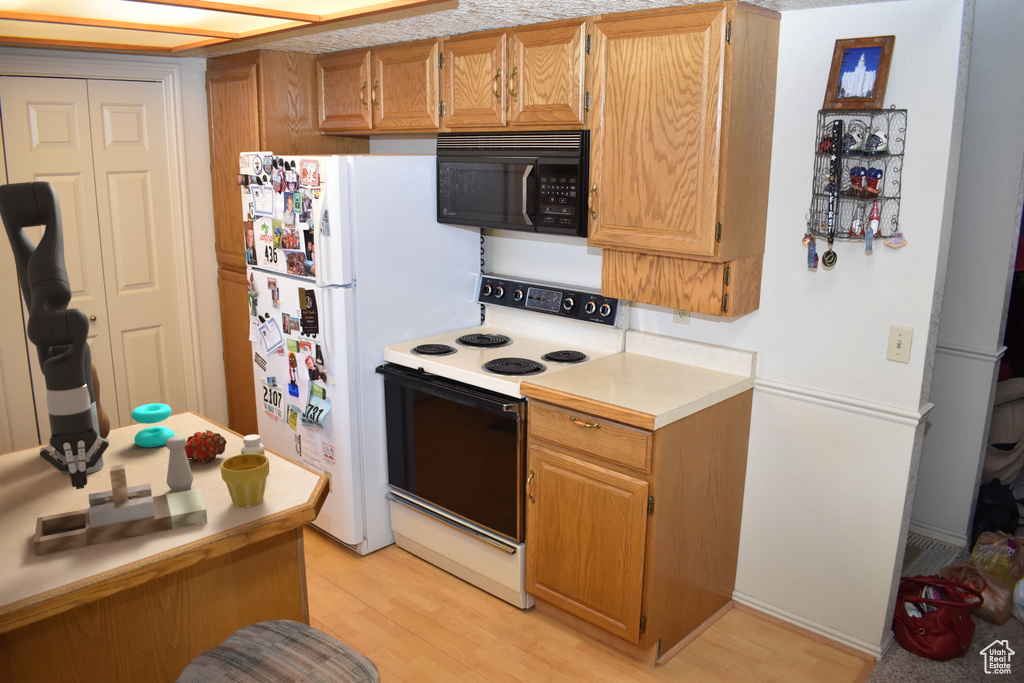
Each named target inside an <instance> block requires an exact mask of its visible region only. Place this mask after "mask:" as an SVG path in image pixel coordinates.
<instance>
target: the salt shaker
mask: <svg viewBox="0 0 1024 683" xmlns="http://www.w3.org/2000/svg"><path fill="white" fill-rule="evenodd" d="M186 442H187V439H186V438H185V437H184V436H181V435H176V436H175V435H174V437H171V438H169V439H168V440H167V441H166V444H165V445H166V448H167V449H168V450H169V454H168V455H169V458H168V466H167V476H166V484H167V486H168V487H169V489H170V490H171V492H172V493H173V492H174V493H177V492H182V491H188V490H191V487H192V484H193V482H194V475H193V472H192V468H191V465H190V461H189V460H188V459H189V458H188V459H187V455H186V452H185V449H184V447H185V446H186Z"/></svg>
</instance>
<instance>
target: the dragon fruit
mask: <svg viewBox="0 0 1024 683" xmlns="http://www.w3.org/2000/svg"><path fill="white" fill-rule="evenodd" d="M193 434H194V435H191V436H188V438H187V439H186V446H185V447H184V449H185V452H186V455H187V459H188V462H191V461H193V462H194V461H195V462H200V461H201V462H202V464H206V463H207V462H209V461H210V460H211V461H214V460H215V459H216V458H217V455H219V456H220V455H223V453H225V451H226V445H227V442H228V441H227V440H226V438H225V437H224V436H222V435H221V434H220V433H219V432H213V431H212V430H209V429H206V430H204V431H203V432H202V431H201V432H200V431H197V432H195V433H193Z"/></svg>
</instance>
